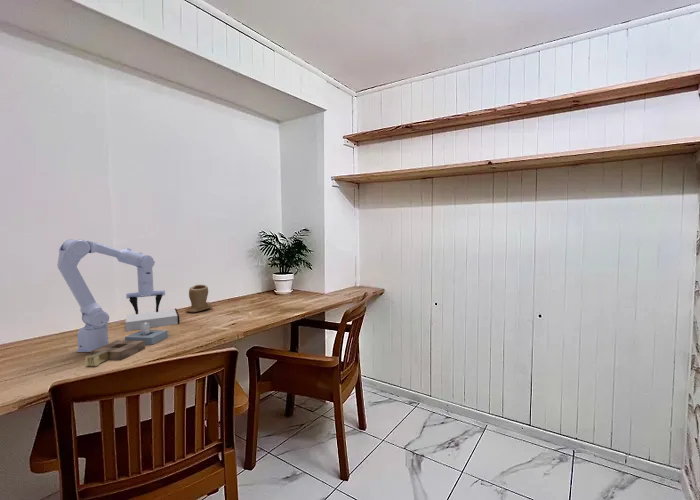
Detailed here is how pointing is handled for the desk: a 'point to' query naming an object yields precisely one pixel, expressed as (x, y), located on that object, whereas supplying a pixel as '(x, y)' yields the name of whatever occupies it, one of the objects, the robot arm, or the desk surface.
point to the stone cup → (198, 298)
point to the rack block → (148, 336)
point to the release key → (96, 358)
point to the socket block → (121, 349)
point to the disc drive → (152, 319)
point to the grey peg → (145, 328)
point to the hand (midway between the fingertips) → (147, 312)
